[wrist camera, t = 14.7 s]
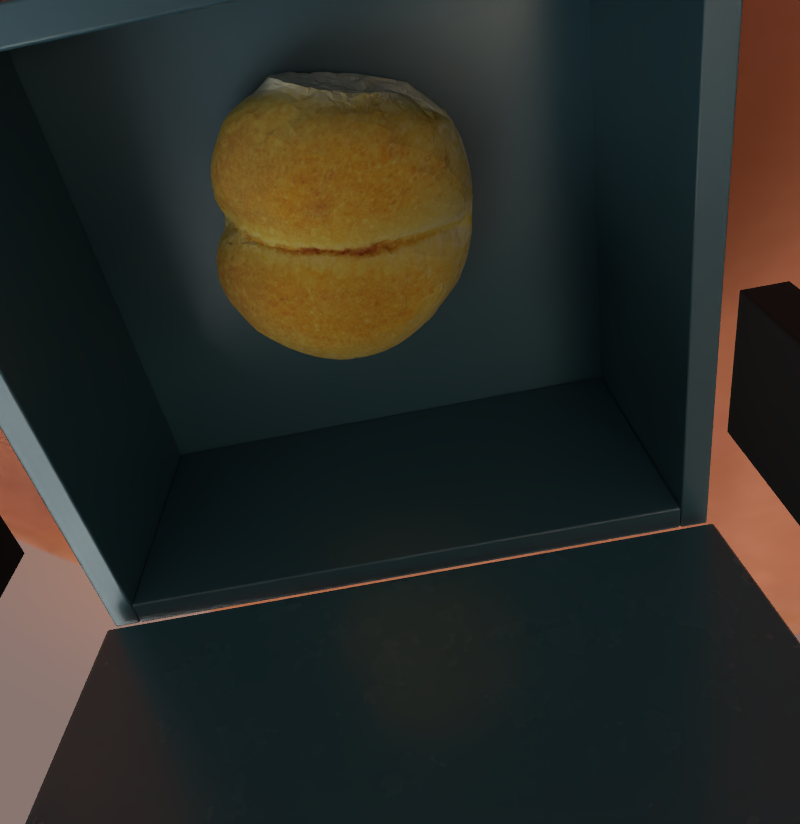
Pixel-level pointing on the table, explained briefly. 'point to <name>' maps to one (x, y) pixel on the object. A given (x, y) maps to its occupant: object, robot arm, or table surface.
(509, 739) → the lid
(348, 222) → the bread roll
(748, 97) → the table surface
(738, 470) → the table surface
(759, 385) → the robot arm
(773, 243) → the table surface
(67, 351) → the dark teal hollow box
